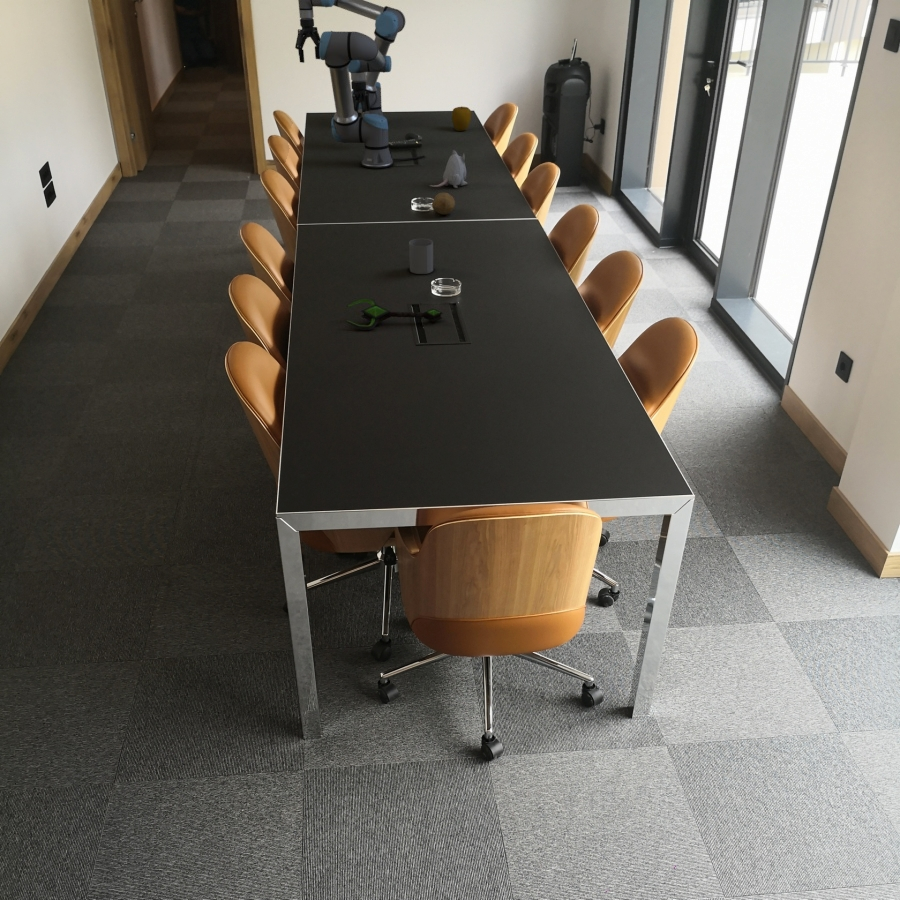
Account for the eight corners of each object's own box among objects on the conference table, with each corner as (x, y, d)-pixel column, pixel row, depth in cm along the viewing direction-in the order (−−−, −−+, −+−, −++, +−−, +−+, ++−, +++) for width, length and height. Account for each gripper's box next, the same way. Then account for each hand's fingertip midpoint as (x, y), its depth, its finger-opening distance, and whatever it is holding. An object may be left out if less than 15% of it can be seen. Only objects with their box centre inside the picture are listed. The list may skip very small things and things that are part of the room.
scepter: (442, 294, 271) (346, 291, 269) (443, 324, 264) (344, 322, 262) (441, 307, 276) (346, 304, 274) (442, 337, 269) (345, 335, 267)
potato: (453, 208, 369) (453, 189, 365) (456, 218, 357) (456, 199, 353) (431, 208, 368) (430, 189, 364) (432, 218, 356) (432, 199, 352)
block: (359, 130, 455) (358, 108, 449) (370, 131, 451) (369, 110, 446) (351, 132, 450) (350, 111, 444) (362, 134, 447) (361, 112, 441)
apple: (471, 132, 486) (471, 108, 479) (451, 132, 486) (451, 108, 479) (470, 128, 495) (471, 104, 488) (452, 128, 495) (452, 104, 488)
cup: (409, 265, 311) (408, 238, 306) (432, 265, 312) (431, 238, 307) (410, 274, 304) (409, 246, 299) (433, 273, 305) (433, 246, 299)
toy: (472, 184, 399) (472, 151, 391) (436, 195, 384) (436, 161, 376) (457, 180, 404) (458, 147, 396) (422, 191, 389) (421, 157, 381)
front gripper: (364, 77, 446) (366, 123, 458) (340, 83, 432) (343, 131, 444) (376, 78, 443) (378, 125, 455) (352, 84, 429) (355, 133, 441)
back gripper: (316, 15, 482) (319, 57, 494) (286, 20, 464) (290, 63, 476) (326, 16, 479) (329, 58, 490) (297, 21, 461) (300, 64, 473)
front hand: (361, 128), depth 450 cm, fingers closed on block, 7 cm apart
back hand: (310, 60), depth 483 cm, fingers open, 13 cm apart
